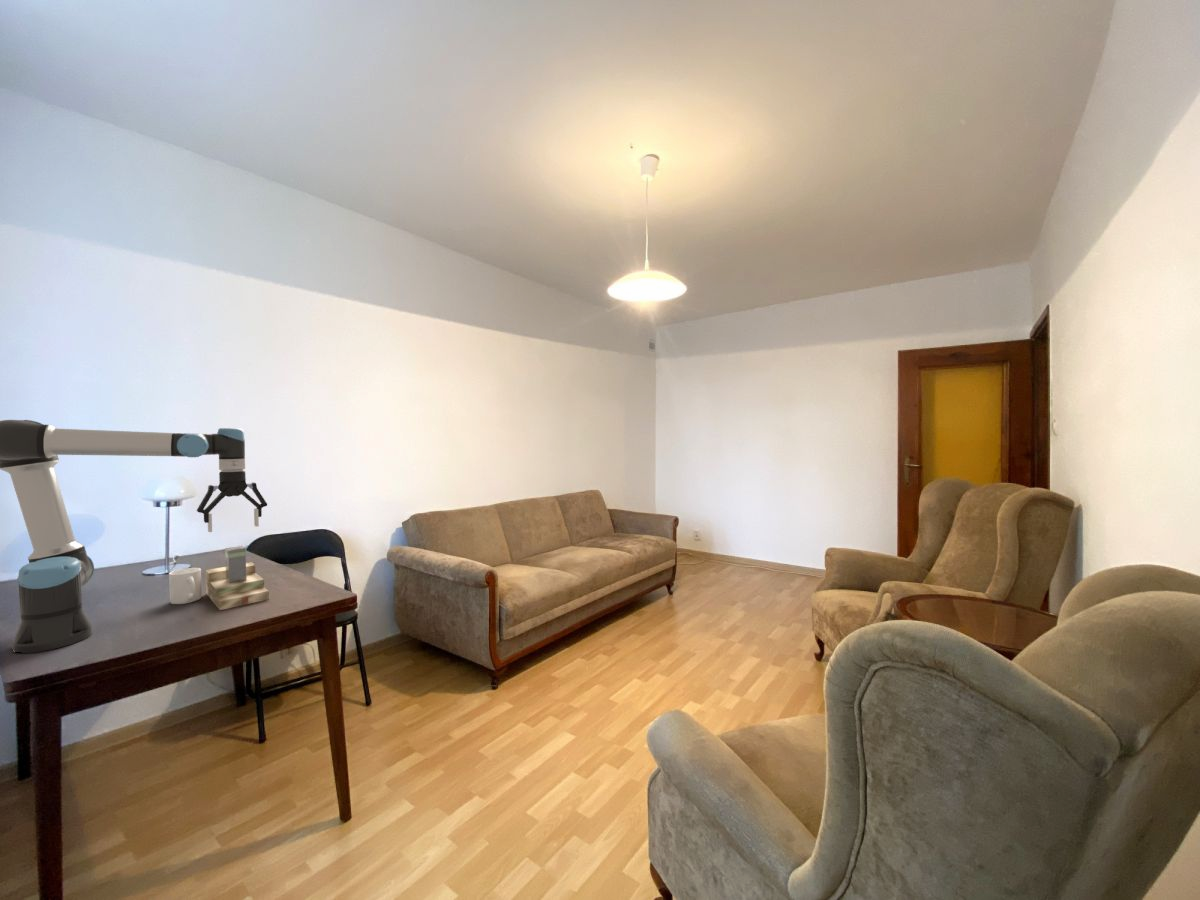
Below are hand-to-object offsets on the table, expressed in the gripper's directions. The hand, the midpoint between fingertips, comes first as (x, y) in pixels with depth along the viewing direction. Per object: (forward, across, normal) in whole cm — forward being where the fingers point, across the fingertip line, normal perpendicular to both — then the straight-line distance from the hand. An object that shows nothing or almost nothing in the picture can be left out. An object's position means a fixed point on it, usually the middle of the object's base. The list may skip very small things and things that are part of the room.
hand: (234, 528), depth 173 cm
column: (+19, 0, 0) cm, 19 cm away
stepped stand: (+25, 0, 0) cm, 25 cm away
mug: (+26, -12, +7) cm, 29 cm away
